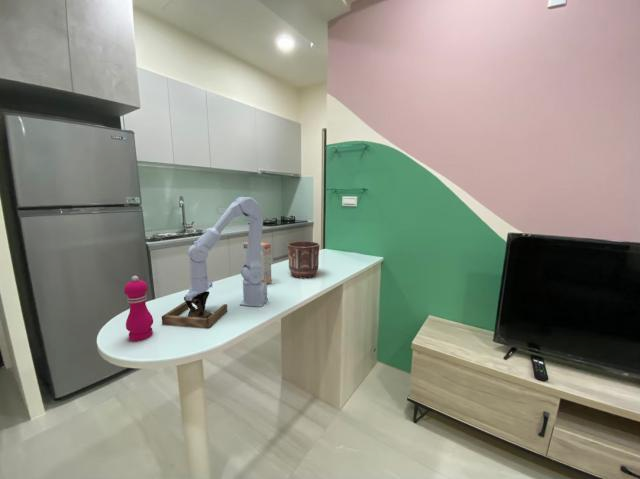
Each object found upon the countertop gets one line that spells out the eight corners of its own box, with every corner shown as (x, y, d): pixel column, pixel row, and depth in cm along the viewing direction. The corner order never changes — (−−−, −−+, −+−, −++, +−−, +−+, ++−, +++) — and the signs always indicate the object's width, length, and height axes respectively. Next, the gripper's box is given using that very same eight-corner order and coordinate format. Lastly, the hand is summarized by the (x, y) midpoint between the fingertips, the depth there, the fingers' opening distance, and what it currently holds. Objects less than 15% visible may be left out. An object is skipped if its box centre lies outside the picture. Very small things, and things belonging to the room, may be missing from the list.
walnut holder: (227, 311, 103) (226, 304, 103) (209, 328, 90) (208, 320, 90) (185, 308, 105) (185, 301, 105) (162, 324, 92) (161, 316, 92)
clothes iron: (196, 326, 92) (184, 301, 90) (184, 324, 99) (173, 300, 98) (214, 315, 97) (203, 291, 95) (201, 314, 104) (191, 291, 103)
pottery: (305, 268, 164) (305, 240, 161) (325, 275, 151) (325, 244, 148) (282, 274, 152) (281, 243, 149) (301, 282, 139) (300, 248, 136)
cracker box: (272, 282, 137) (271, 243, 134) (263, 286, 132) (262, 244, 129) (252, 278, 145) (251, 240, 141) (244, 280, 140) (243, 241, 136)
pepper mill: (136, 330, 88) (129, 272, 85) (158, 330, 89) (153, 272, 85) (121, 342, 81) (114, 279, 78) (146, 341, 81) (140, 279, 78)
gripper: (200, 270, 106) (202, 302, 108) (176, 282, 92) (179, 319, 94) (216, 271, 105) (218, 303, 107) (195, 283, 91) (197, 320, 93)
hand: (201, 311), depth 101 cm, fingers closed, pressing on clothes iron
